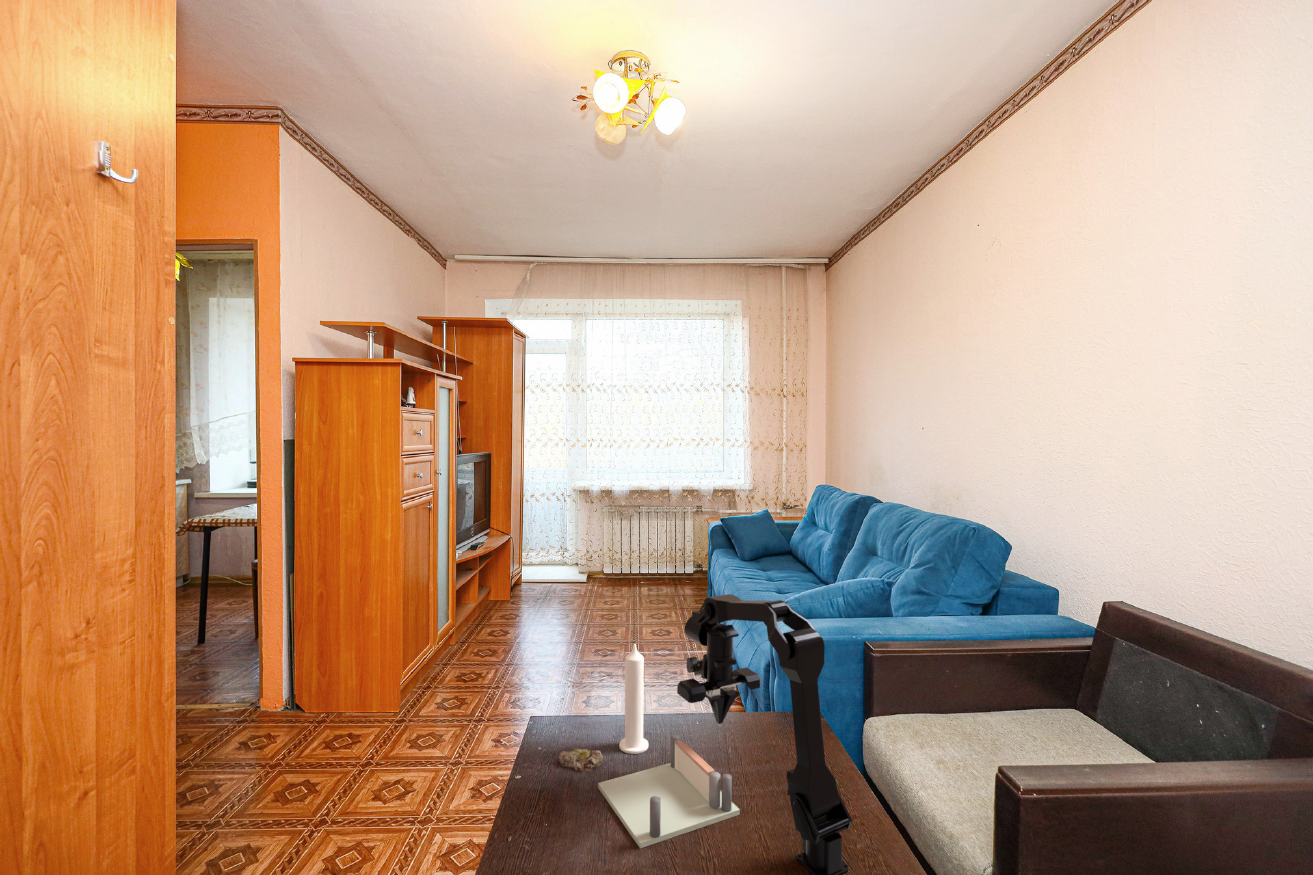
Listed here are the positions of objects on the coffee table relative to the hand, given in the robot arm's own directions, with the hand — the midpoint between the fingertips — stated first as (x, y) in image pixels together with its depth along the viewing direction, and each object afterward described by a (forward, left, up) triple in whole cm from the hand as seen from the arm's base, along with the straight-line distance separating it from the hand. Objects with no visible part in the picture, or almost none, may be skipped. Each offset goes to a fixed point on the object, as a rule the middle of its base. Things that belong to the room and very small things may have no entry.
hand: (719, 722), depth 131 cm
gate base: (-3, +14, -12) cm, 19 cm away
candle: (+20, +11, -12) cm, 26 cm away
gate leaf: (-3, +7, -11) cm, 13 cm away
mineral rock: (+19, +25, -12) cm, 34 cm away
